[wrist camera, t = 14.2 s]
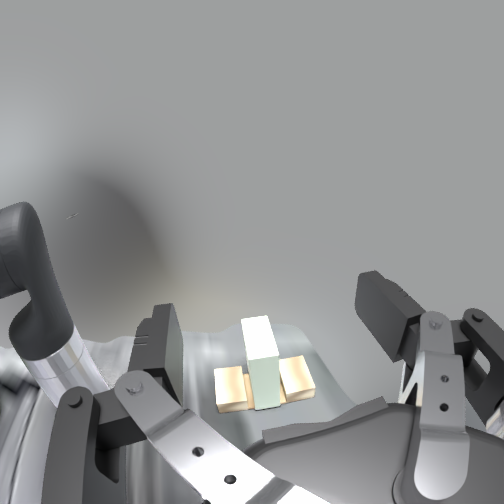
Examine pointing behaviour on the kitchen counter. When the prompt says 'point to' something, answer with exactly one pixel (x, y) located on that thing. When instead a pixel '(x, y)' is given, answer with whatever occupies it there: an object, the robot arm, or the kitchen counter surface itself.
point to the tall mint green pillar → (262, 362)
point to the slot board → (240, 393)
